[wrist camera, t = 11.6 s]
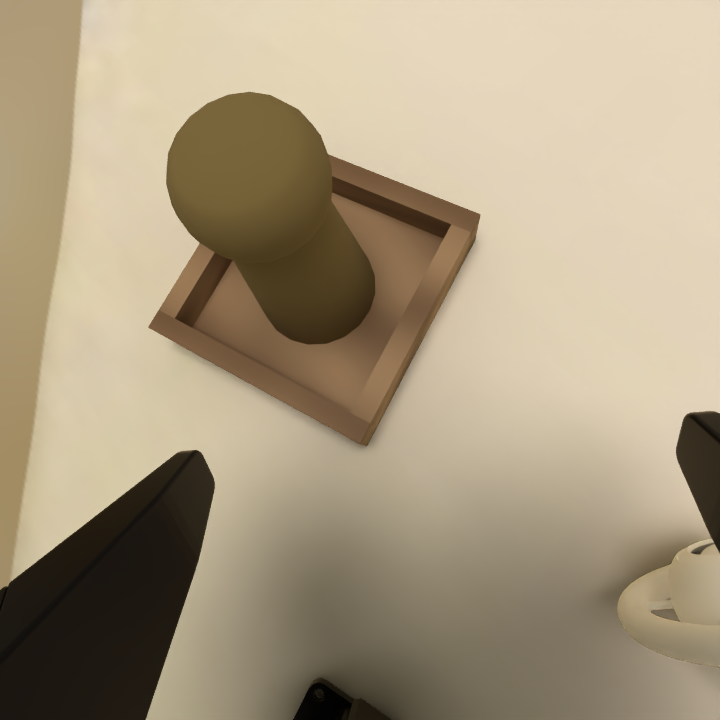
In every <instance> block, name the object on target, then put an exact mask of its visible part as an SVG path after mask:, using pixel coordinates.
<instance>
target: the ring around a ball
mask: <svg viewBox="0 0 720 720" xmlns="http://www.w3.org/2000/svg"><path fill="white" fill-rule="evenodd" d="M668 598H671V600H666V599H668ZM661 609H674V610H675V612H676V614H677V616H678V618H679V620H680V621H681V622H677V621H673V620H669V619H665V618H662V617H659V616H656V615H654V614H652V613H650V612H651V611H652V610H661ZM617 611H618V616H619V619H620V621H621V623H622V625H623V627H624V628H625V630H626V631H627V632H628V633H629V634H630V635H631V636H632V637H633V638H634V639H635V640H637V641H638V642H640V643H641V644H643V645H644V646H646V647H647V648H650V649H652V650H654V651H656V652H658V653H660V654H663V655H666V656H669V657H672V658H675V659H678V660H683V661H687V662H691V663H696V664H701V665H708V666H715V667H720V553H719V551H718V549H717V548H716V546H715V544H714V542H713V540H712V538H711V539H706V540H702V541H699V542H696V543H694V544H692V545H690V546H688V547H686V548H684V549H682V550H680V551H679V552H678V553H677V554H676V556H675V557H674V559H673V561H672V563H671V564H670V565H667V566H664V567H662V568H659V569H656V570H654V571H652V572H650V573H647V574H645V575H643V576H642V577H640V578H638V579H637V580H635V581H634V582H632V583H631V584H630V585H629V586H628V587H627V588H626V589H625V590H624V591H623V592H622V594H621V596H620V598H619V600H618V610H617Z"/></svg>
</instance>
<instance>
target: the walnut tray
mask: <svg viewBox="0 0 720 720" xmlns="http://www.w3.org/2000/svg"><path fill="white" fill-rule="evenodd" d="M328 156H329V160H330V163H331V166H332V198H331V201H332V202H333V204H334V205H335V207H336V209H337V210H338V212H339V213H340V215H341V216H342V218H343V220H344V221H345V223H346V224H347V226H348V228H349V229H350V231H351V232H352V234H353V235H354V237H355V239H356V240H357V242H358V243H359V245H360V247H361V248H362V250H363V251H364V253H365V254H366V256H367V258H368V259H369V261H370V264H371V267H372V269H373V272H374V274H375V296H374V299H373V302H372V305H371V309H370V311H369V312H368V314H367V315H366V317H365V318H364V320H363V321H362V322H361V324H360V325H359V326H358V327H357V328H355V329H354V330H353V331H351V332H350V333H349V334H348V335H346V336H345V337H343V338H340V339H338V340H335V341H332V342H330V343H327V344H311V345H308V344H304V343H300V342H296V341H293V340H290V339H289V338H287V337H286V336H284V335H283V334H281V333H280V332H278V331H277V330H276V329H275V328H274V326H273V325H272V323H271V322H270V321H269V319H268V318H267V317H266V315H265V313H264V312H263V310H262V308H261V307H260V305H259V303H258V302H257V300H256V298H255V296H254V295H253V293H252V291H251V290H250V288H249V286H248V285H247V283H246V281H245V280H244V278H243V276H242V275H241V273H240V271H239V270H238V268H237V266H236V264H235V263H234V261H233V260H231V259H227V258H225V257H223V256H220V255H218V254H216V253H215V252H213V251H212V250H210V249H208V248H207V247H205V246H204V245H202V244H201V243H200V244H199V246H198V247H197V249H196V251H195V252H194V254H193V256H192V257H191V259H190V260H189V262H188V264H187V265H186V267H185V269H184V270H183V272H182V273H181V275H180V277H179V278H178V280H177V281H176V283H175V285H174V286H173V288H172V290H171V291H170V293H169V294H168V296H167V298H166V299H165V301H164V303H163V304H162V306H161V307H160V309H159V311H158V312H157V314H156V316H155V317H154V319H153V320H152V322H151V324H150V325H149V327H148V328H150V329H152V330H154V331H156V332H157V333H159V334H161V335H163V336H165V337H167V338H168V339H170V340H172V341H174V342H176V343H177V344H179V345H181V346H183V347H185V348H186V349H188V350H190V351H192V352H194V353H196V354H197V355H199V356H201V357H203V358H205V359H206V360H208V361H210V362H212V363H214V364H215V365H217V366H219V367H221V368H223V369H225V370H226V371H228V372H230V373H232V374H234V375H235V376H237V377H239V378H241V379H243V380H244V381H246V382H248V383H250V384H252V385H254V386H255V387H257V388H259V389H261V390H263V391H264V392H266V393H268V394H270V395H272V396H274V397H275V398H277V399H279V400H281V401H283V402H284V403H286V404H288V405H290V406H292V407H293V408H295V409H297V410H299V411H301V412H303V413H304V414H306V415H308V416H310V417H312V418H313V419H315V420H317V421H319V422H321V423H322V424H324V425H326V426H328V427H330V428H332V429H333V430H335V431H337V432H339V433H341V434H342V435H344V436H346V437H348V438H350V439H351V440H353V441H355V442H357V443H359V444H362V445H365V446H367V445H368V443H369V441H370V439H371V437H372V435H373V433H374V431H375V429H376V427H377V426H378V424H379V422H380V420H381V418H382V416H383V414H384V412H385V410H386V408H387V406H388V405H389V403H390V401H391V399H392V397H393V395H394V393H395V391H396V389H397V387H398V386H399V384H400V382H401V380H402V378H403V376H404V374H405V372H406V370H407V368H408V367H409V365H410V363H411V361H412V359H413V357H414V355H415V353H416V351H417V349H418V347H419V346H420V344H421V342H422V340H423V338H424V336H425V334H426V332H427V330H428V328H429V327H430V325H431V323H432V321H433V319H434V317H435V315H436V313H437V311H438V309H439V308H440V306H441V304H442V302H443V300H444V298H445V296H446V294H447V292H448V290H449V289H450V287H451V285H452V283H453V281H454V279H455V277H456V275H457V273H458V271H459V269H460V268H461V266H462V264H463V262H464V260H465V258H466V256H467V254H468V252H469V250H470V249H471V247H472V245H473V243H474V241H475V238H476V233H477V229H478V224H479V219H480V214H478V213H475V212H473V211H470V210H468V209H465V208H463V207H460V206H458V205H455V204H453V203H450V202H448V201H445V200H442V199H440V198H437V197H435V196H432V195H430V194H427V193H425V192H422V191H420V190H417V189H415V188H412V187H409V186H407V185H404V184H402V183H399V182H397V181H394V180H392V179H389V178H387V177H384V176H382V175H379V174H376V173H374V172H371V171H369V170H366V169H364V168H361V167H359V166H356V165H354V164H351V163H349V162H346V161H343V160H341V159H338V158H336V157H333V156H331V155H328Z"/></svg>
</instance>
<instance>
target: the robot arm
mask: <svg viewBox="0 0 720 720" xmlns="http://www.w3.org/2000/svg"><path fill="white" fill-rule="evenodd" d="M676 456H677V460H678V463H679V465H680V467H681V470H682V472H683V474H684V477H685V479H686V481H687V483H688V486H689V488H690V490H691V493H692V495H693V497H694V499H695V502H696V504H697V506H698V509H699V511H700V513H701V516H702V518H703V520H704V522H705V525H706V527H707V529H708V531H709V533H710V536H711V538H712V540H713V542H714V544H715V546H716V548H717V549H718V551H719V553H720V413H717V412H714V411H705V412H692V413H689V414H687V415H686V416H685V417H684V419H683V422H682V426H681V430H680V434H679V439H678V443H677V447H676ZM214 489H215V482H214V478H213V475H212V473H211V471H210V469H209V467H208V465H207V463H206V461H205V459H204V457H203V455H202V453H201V452H199V451H197V450H191V451H181V452H178V453H176V454H175V455H174V456H173V457H171V458H170V459H169V460H167V461H166V462H165V463H163V464H162V465H161V466H160V467H158V468H157V469H156V470H154V471H153V472H152V473H151V474H149V475H148V476H147V477H145V478H144V479H143V480H142V481H140V482H139V483H138V484H136V485H135V486H134V487H133V488H131V489H130V490H129V491H127V492H126V493H125V494H124V495H122V496H121V497H120V498H118V499H117V500H116V501H114V502H113V503H112V504H111V505H109V506H108V507H107V508H105V509H104V510H103V511H102V512H100V513H99V514H98V515H96V516H95V517H94V518H93V519H91V520H90V521H89V522H87V523H86V524H85V525H84V526H82V527H81V528H80V529H78V530H77V531H76V532H75V533H73V534H72V535H71V536H69V537H68V538H67V539H65V540H64V541H63V542H62V543H60V544H59V545H58V546H56V547H55V548H54V549H53V550H51V551H50V552H49V553H47V554H46V555H45V556H44V557H42V558H41V559H40V560H38V561H37V562H36V563H35V564H33V565H32V566H31V567H29V568H28V569H27V570H25V571H24V572H23V573H22V574H20V575H19V576H18V577H16V578H15V579H14V580H13V581H11V582H10V583H9V585H8V586H6V587H3V588H2V589H1V590H0V720H146V717H147V714H148V711H149V708H150V705H151V702H152V699H153V696H154V693H155V690H156V687H157V684H158V681H159V678H160V675H161V672H162V669H163V666H164V663H165V660H166V657H167V654H168V651H169V648H170V645H171V642H172V639H173V636H174V633H175V630H176V627H177V624H178V621H179V618H180V615H181V612H182V609H183V606H184V603H185V600H186V597H187V594H188V591H189V588H190V585H191V582H192V579H193V576H194V573H195V570H196V566H197V563H198V560H199V556H200V552H201V548H202V544H203V539H204V535H205V530H206V526H207V521H208V517H209V512H210V508H211V503H212V499H213V494H214ZM316 689H321V690H322V691H323V692H324V695H325V696H324V697H322V698H320V697H318V696H317V695H316V693H315V690H316ZM293 720H391V719H390V718H389V717H387V716H386V715H384V714H383V713H381V712H380V711H378V710H377V709H376V708H374V707H373V706H371V705H370V704H368V703H367V702H366V701H364V700H363V699H355V700H354V699H353V698H351V697H350V696H348V695H347V694H345V693H344V692H343V691H341V690H340V689H338V688H337V687H335V686H334V685H333V684H331V683H330V682H328V681H327V680H325V679H323V678H318V679H316V680H314V681H313V682H312V684H311V685H310V687H309V689H308V691H307V693H306V695H305V697H304V699H303V701H302V703H301V705H300V707H299V709H298V711H297V713H296V715H295V717H294V719H293Z"/></svg>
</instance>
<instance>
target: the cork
mask: <svg viewBox="0 0 720 720" xmlns="http://www.w3.org/2000/svg"><path fill="white" fill-rule="evenodd" d="M166 185H167V188H168V192H169V196H170V200H171V204H172V206H173V208H174V210H175V212H176V214H177V216H178V218H179V219H180V221H181V222H182V223H183V225H184V226H185V227H186V229H187V230H188V232H189V233H190V234H191V235H192V236H193V237H194V238H195V239H196V240H197V241H198V242H199V243H201V244H202V245H204V246H205V247H207V248H208V249H210V250H212V251H213V252H215V253H216V254H218V255H220V256H223V257H225V258H227V259H231V260H233V261H234V263H235V264H236V266H237V268H238V270H239V271H240V273H241V275H242V276H243V278H244V280H245V281H246V283H247V285H248V286H249V288H250V290H251V291H252V293H253V295H254V296H255V298H256V300H257V302H258V303H259V305H260V307H261V308H262V310H263V312H264V313H265V315H266V317H267V318H268V319H269V321H270V322H271V323H272V325H273V326H274V328H275V329H276V330H277V331H278V332H280V333H281V334H283V335H284V336H286V337H287V338H289V339H290V340H293V341H296V342H300V343H304V344H308V345H311V344H327V343H330V342H332V341H335V340H338V339H340V338H343V337H345V336H346V335H348V334H349V333H350V332H351V331H353V330H354V329H355V328H357V327H358V326H359V325H360V324H361V322H362V321H363V320H364V318H365V317H366V315H367V314H368V312H369V311H370V309H371V305H372V302H373V299H374V296H375V274H374V272H373V269H372V267H371V264H370V261H369V259H368V258H367V256H366V254H365V253H364V251H363V250H362V248H361V247H360V245H359V243H358V242H357V240H356V239H355V237H354V235H353V234H352V232H351V231H350V229H349V228H348V226H347V224H346V223H345V221H344V220H343V218H342V216H341V215H340V213H339V212H338V210H337V209H336V207H335V205H334V204H333V202H332V201H331V198H332V166H331V163H330V160H329V156H328V154H327V151H326V148H325V146H324V143H323V140H322V138H321V135H320V134H319V133H318V131H317V130H316V129H315V127H314V126H313V125H312V124H311V123H310V122H309V120H308V119H307V118H306V117H305V116H304V115H303V114H302V113H301V112H300V111H299V110H298V109H296V108H294V107H293V106H291V105H289V104H287V103H285V102H283V101H281V100H279V99H277V98H275V97H273V96H271V95H266V94H260V93H253V92H246V93H238V94H231V95H227V96H224V97H222V98H219V99H217V100H215V101H212V102H210V103H208V104H206V105H205V106H204V107H202V108H201V109H200V110H198V111H197V112H196V113H194V114H193V115H191V116H190V117H189V119H188V120H187V121H186V122H185V124H184V125H183V126H182V127H181V129H180V130H179V131H178V132H177V134H176V136H175V138H174V141H173V143H172V145H171V148H170V150H169V153H168V162H167V178H166Z"/></svg>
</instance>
